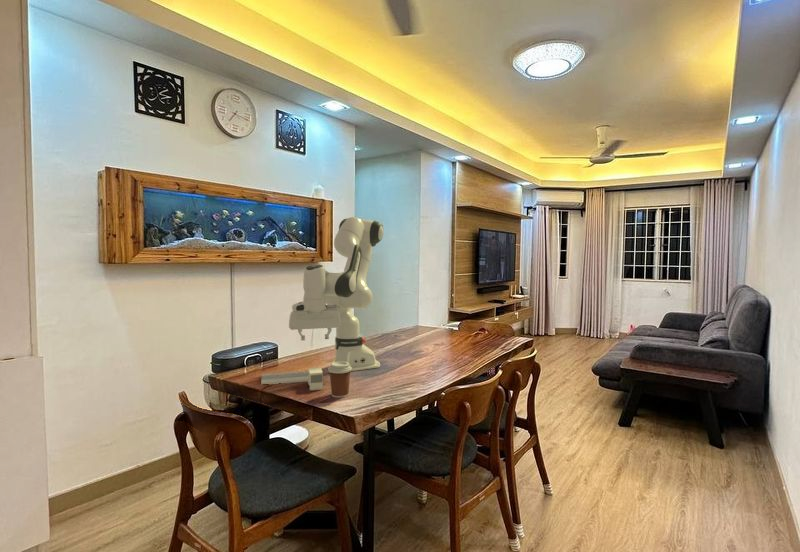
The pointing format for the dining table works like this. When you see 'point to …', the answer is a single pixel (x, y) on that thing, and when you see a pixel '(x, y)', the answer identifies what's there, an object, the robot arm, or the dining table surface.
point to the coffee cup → (340, 378)
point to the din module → (315, 378)
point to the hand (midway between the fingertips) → (314, 339)
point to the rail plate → (284, 377)
